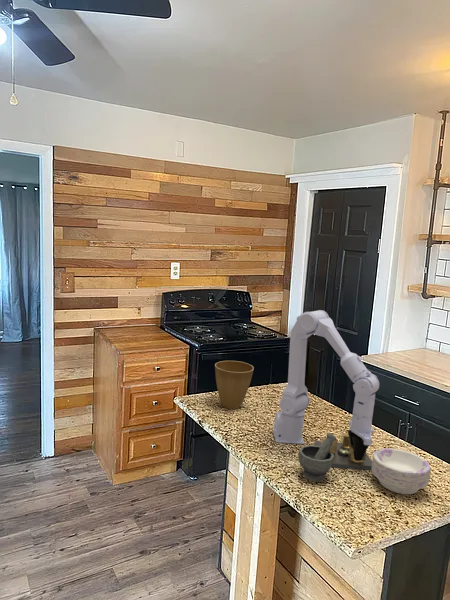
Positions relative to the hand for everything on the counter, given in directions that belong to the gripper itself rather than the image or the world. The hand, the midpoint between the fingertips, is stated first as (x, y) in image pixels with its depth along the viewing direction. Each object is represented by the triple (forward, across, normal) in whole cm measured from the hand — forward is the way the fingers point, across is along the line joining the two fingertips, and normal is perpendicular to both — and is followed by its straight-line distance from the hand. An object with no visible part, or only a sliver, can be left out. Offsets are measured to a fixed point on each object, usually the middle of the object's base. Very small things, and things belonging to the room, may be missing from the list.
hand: (356, 457), depth 142 cm
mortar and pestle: (+2, -9, +14) cm, 17 cm away
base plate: (+2, +4, +2) cm, 5 cm away
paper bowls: (+2, -11, -8) cm, 14 cm away
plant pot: (+2, +41, +36) cm, 55 cm away
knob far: (+1, +9, 0) cm, 9 cm away
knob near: (+1, 0, 0) cm, 1 cm away
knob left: (+1, +4, +7) cm, 9 cm away
